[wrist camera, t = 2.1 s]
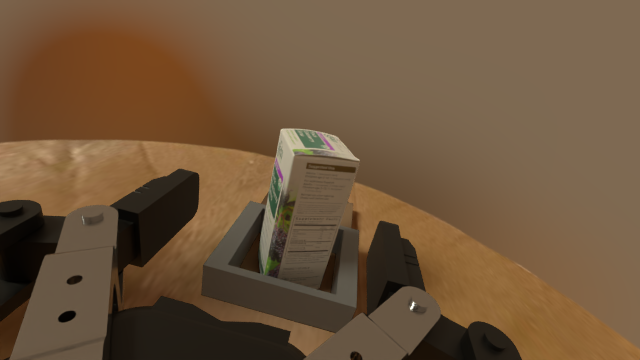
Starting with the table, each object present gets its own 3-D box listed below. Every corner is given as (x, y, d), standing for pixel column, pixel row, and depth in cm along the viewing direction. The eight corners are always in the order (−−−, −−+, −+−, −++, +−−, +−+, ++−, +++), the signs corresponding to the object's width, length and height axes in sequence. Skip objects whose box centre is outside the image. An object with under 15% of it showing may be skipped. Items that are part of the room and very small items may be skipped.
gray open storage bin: (201, 294, 26) (203, 264, 24) (247, 225, 35) (250, 200, 34) (345, 335, 25) (356, 307, 24) (350, 253, 35) (358, 230, 34)
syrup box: (256, 253, 32) (276, 125, 25) (307, 251, 34) (338, 132, 27) (262, 296, 27) (290, 152, 21) (322, 290, 29) (364, 158, 23)
